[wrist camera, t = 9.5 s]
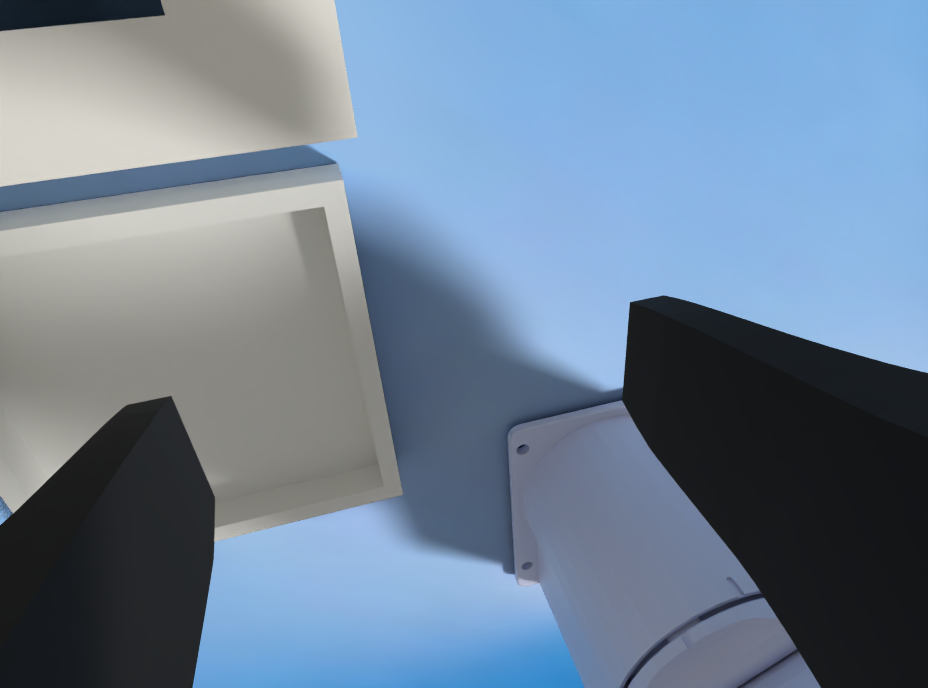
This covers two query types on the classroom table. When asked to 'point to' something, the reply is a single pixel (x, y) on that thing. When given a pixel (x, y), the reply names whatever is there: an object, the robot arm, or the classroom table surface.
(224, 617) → the classroom table surface
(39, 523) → the robot arm
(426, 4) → the classroom table surface
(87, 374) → the tray
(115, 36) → the socket block
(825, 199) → the classroom table surface
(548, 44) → the classroom table surface
